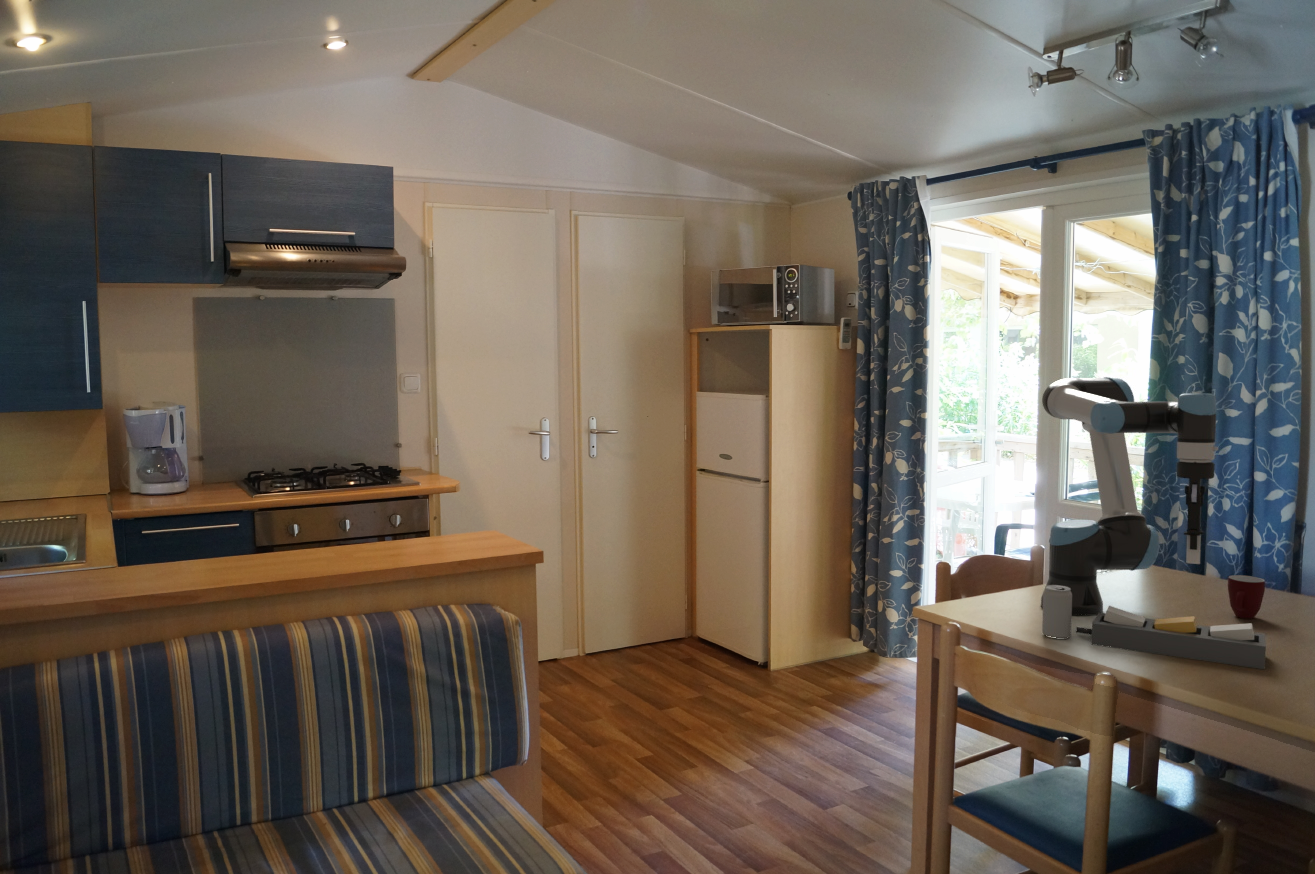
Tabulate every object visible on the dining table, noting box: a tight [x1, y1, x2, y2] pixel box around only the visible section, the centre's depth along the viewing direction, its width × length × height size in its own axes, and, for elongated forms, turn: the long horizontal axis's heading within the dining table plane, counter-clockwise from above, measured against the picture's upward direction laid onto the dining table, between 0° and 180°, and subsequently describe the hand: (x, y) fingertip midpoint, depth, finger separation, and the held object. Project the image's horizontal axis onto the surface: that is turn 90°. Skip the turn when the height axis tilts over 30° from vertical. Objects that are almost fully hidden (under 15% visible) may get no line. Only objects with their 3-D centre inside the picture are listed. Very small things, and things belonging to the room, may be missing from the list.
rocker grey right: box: [1210, 622, 1255, 640], centre depth 208 cm, size 8×5×2 cm, turn 58°
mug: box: [1227, 574, 1266, 620], centre depth 240 cm, size 11×8×10 cm
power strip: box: [1075, 612, 1267, 670], centre depth 215 cm, size 38×11×5 cm, turn 58°
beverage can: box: [1041, 585, 1073, 639], centre depth 224 cm, size 6×6×12 cm
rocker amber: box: [1154, 615, 1198, 633], centre depth 214 cm, size 8×5×2 cm, turn 58°
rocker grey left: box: [1104, 605, 1146, 627], centre depth 219 cm, size 8×5×2 cm, turn 58°
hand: (1193, 562), depth 215 cm, fingers closed
